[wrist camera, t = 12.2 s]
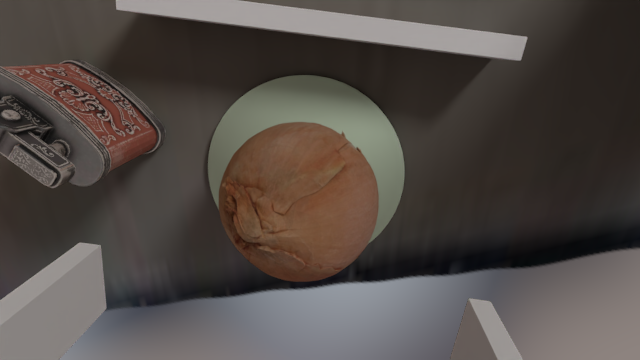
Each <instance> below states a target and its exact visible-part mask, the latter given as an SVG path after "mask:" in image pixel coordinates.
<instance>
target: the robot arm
mask: <svg viewBox="0 0 640 360" xmlns="http://www.w3.org/2000/svg"><path fill="white" fill-rule="evenodd" d="M105 310H106V299H105V288H104V276H103V265H102V254H101V245H94V244H87V243H78V244H77V245H76V246H74V247H73V248H71V249H70V250H69V251H67V252H66V253H65V254H63V255H62V256H60V257H59V258H58V259H56V260H55V261H54V262H52V263H51V264H49V265H48V266H47V267H45V268H44V269H43V270H41V271H40V272H38V273H37V274H36V275H34V276H33V277H32V278H30V279H29V280H27V281H26V282H25V283H23V284H22V285H21V286H19V287H18V288H16V289H15V290H14V291H12V292H11V293H10V294H8V295H7V296H5V297H4V298H3V299H1V300H0V360H59V359H60V358H61V357H62V356H63V355H64V354H65V353H66V352H67V351H68V349H69V348H70V347H71V346H72V345H73V344H74V343H75V342H76V341H77V340H78V339H79V338H80V336H81V335H82V334H83V333H84V332H85V331H86V330H87V329H88V328H89V327H90V326H91V325H92V324H93V322H94V321H95V320H96V319H97V318H98V317H99V316H100V315H101V314H102V313H103V312H104V311H105ZM450 360H523V358H522V357H521V355H520V353H519V351H518V350H517V348H516V346H515V344H514V342H513V341H512V339H511V337H510V335H509V333H508V332H507V330H506V329H505V327H504V325H503V323H502V321H501V319H500V317H499V316H498V314H497V312H496V310H495V309H494V307H493V305H492V303H491V302H490V301H484V300H478V299H471V298H469V299H468V301H467V304H466V308H465V311H464V314H463V318H462V321H461V324H460V328H459V331H458V334H457V337H456V341H455V344H454V348H453V351H452V354H451V357H450Z"/></svg>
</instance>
